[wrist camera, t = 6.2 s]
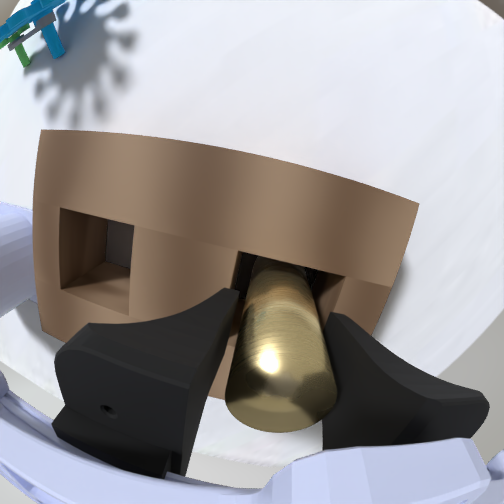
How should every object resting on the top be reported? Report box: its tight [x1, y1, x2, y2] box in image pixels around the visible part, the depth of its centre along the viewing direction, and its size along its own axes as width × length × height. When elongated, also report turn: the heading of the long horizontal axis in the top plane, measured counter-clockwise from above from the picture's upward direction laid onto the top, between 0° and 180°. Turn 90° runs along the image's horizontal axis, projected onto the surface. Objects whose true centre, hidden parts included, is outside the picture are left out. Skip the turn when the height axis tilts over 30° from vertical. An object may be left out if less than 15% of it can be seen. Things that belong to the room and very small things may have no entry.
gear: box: [0, 0, 66, 67], centre depth 10 cm, size 11×6×10 cm
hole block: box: [32, 130, 419, 400], centre depth 14 cm, size 18×12×5 cm, turn 77°
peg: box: [225, 256, 337, 433], centre depth 12 cm, size 3×3×10 cm
